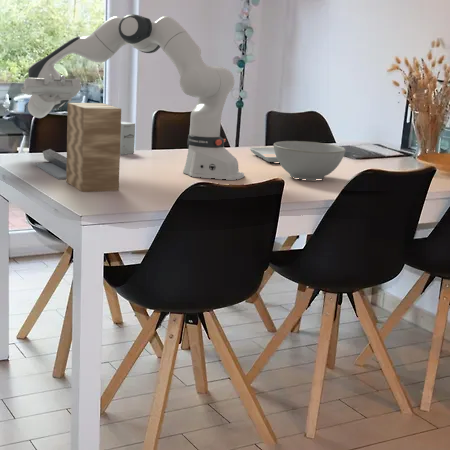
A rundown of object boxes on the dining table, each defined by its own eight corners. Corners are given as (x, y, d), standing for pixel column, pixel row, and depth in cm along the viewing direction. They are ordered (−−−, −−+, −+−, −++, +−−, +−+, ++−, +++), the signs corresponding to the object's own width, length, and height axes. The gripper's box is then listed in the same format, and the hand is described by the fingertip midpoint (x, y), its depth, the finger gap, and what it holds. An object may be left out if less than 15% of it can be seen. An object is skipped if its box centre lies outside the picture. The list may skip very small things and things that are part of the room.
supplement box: (122, 155, 322) (123, 124, 319) (109, 152, 326) (110, 122, 323) (134, 153, 327) (135, 123, 324) (121, 151, 332) (122, 121, 329)
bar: (44, 158, 296) (42, 151, 295) (52, 156, 297) (50, 149, 296) (70, 173, 271) (68, 165, 270) (78, 170, 272) (76, 162, 271)
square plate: (327, 167, 329) (328, 157, 328) (265, 165, 322) (265, 156, 321) (305, 156, 354) (306, 147, 353) (247, 154, 347) (247, 146, 346)
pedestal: (66, 182, 260) (67, 102, 254) (100, 180, 266) (103, 103, 259) (82, 191, 246) (84, 108, 240) (118, 190, 252) (121, 108, 246)
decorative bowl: (350, 178, 304) (353, 146, 301) (330, 188, 280) (333, 154, 277) (285, 169, 314) (287, 138, 311) (260, 178, 290) (262, 145, 287)
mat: (36, 165, 285) (36, 163, 285) (73, 164, 292) (73, 162, 292) (58, 179, 263) (58, 177, 263) (98, 178, 270) (98, 175, 270)
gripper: (18, 84, 287) (27, 67, 275) (72, 86, 297) (83, 69, 285) (20, 100, 285) (29, 84, 274) (74, 101, 295) (86, 85, 284)
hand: (57, 77), depth 280 cm, fingers open, 2 cm apart
